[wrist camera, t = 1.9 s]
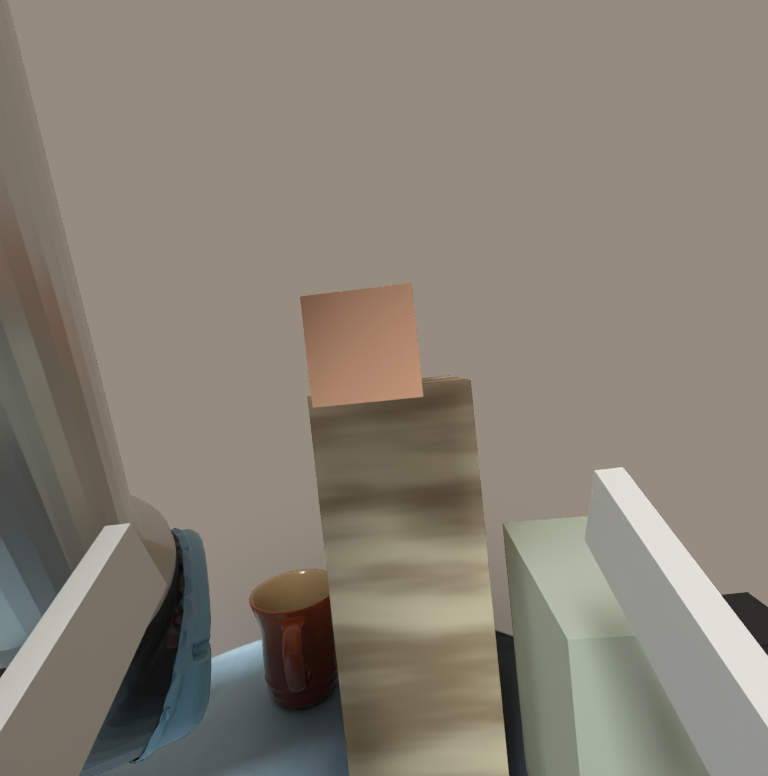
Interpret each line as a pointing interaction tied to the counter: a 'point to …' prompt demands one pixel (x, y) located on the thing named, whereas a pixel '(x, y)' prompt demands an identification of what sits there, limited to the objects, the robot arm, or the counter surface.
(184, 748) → the counter surface
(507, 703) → the counter surface
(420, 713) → the stand
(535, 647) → the post low
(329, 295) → the batten
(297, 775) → the counter surface
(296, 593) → the mug
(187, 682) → the robot arm
